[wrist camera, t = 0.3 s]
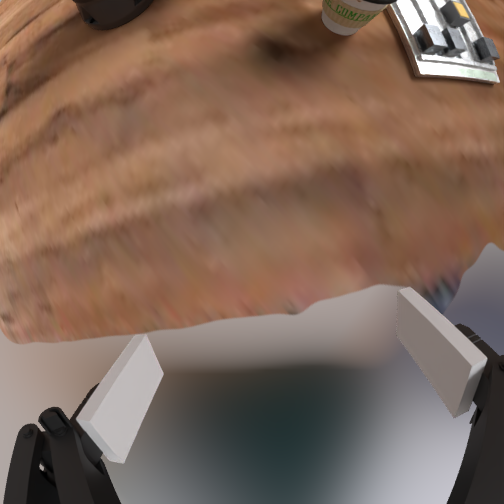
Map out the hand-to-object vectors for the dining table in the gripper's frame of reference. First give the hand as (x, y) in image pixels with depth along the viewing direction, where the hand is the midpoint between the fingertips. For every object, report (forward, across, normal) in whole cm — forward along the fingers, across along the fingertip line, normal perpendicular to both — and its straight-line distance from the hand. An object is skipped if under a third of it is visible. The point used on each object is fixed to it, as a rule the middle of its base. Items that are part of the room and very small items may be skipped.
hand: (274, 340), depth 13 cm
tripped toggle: (+26, +42, +34) cm, 60 cm away
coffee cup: (+28, +18, +31) cm, 46 cm away
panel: (+28, +39, +34) cm, 59 cm away
